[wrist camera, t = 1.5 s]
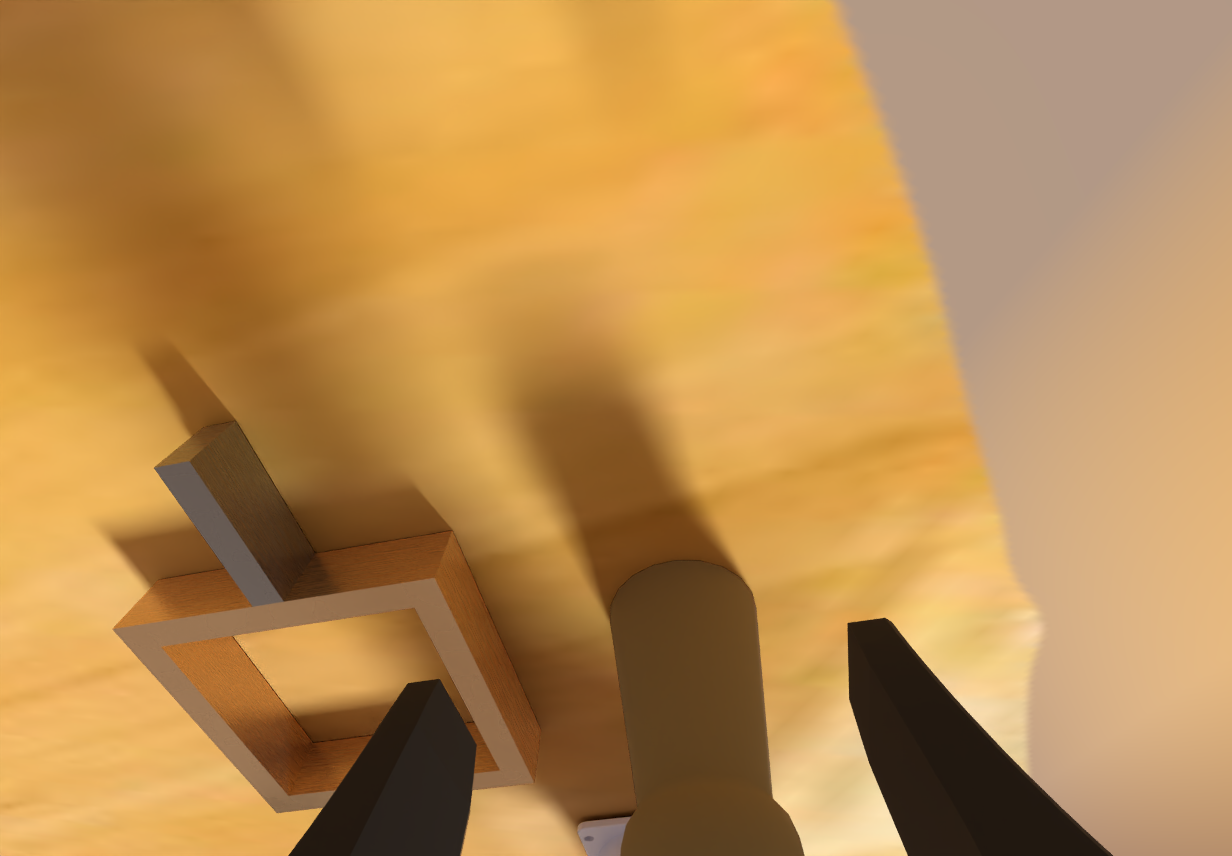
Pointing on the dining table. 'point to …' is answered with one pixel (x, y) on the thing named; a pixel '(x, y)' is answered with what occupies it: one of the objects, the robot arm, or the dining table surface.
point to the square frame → (304, 594)
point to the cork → (696, 716)
